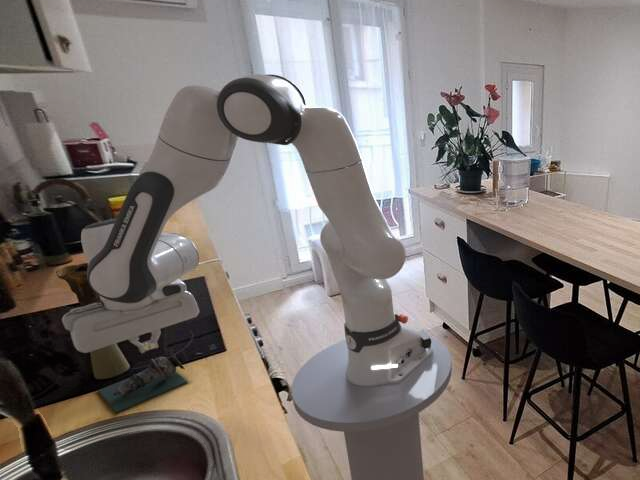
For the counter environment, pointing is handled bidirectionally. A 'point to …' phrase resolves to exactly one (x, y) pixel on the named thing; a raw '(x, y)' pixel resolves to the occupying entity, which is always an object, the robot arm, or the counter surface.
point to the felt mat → (140, 392)
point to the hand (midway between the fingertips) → (149, 349)
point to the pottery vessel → (79, 283)
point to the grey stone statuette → (150, 374)
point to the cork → (108, 362)
